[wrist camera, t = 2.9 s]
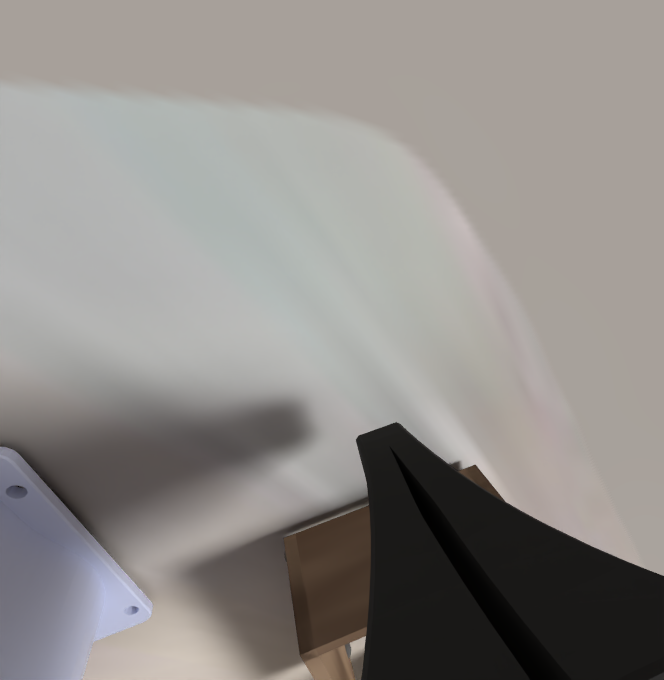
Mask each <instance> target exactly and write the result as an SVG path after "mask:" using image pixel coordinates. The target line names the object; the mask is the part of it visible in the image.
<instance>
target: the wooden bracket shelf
mask: <svg viewBox="0 0 664 680" xmlns="http://www.w3.org/2000/svg"><path fill="white" fill-rule="evenodd" d="M459 472H460V473H461V474H463V475H464V476H466V477H467V478H469V479H470V480H472V481H473V482H475V483H476V484H478V485H479V486H481V487H482V488H484V489H485V490H487V491H488V492H490V493H492V494H493V495H495V496H496V497H498V498H500V499H501V500H503V501H504V499H503V498H502V497H501V496H500V494H499V493H498V492H497V491H496V490H495V488H494V487H493V486H492V485H491V483H490V482H489V481H488V480H487V478H486V477H485V476H484V475H483V473H482V472H481V471H480V470H479V469H478V467H477V466H476V465H473V466H471V467H468V468H465V469H463V470H460V471H459ZM284 544H285V560H286V562H287V566H288V573H289V580H290V587H291V594H292V601H293V609H294V616H295V623H296V630H297V637H298V644H299V652H300V656H301V658H302V659H303V661H304V663H305V664H306V666H307V668H308V669H309V671H310V673H311V675H312V676H313V678H314V680H355V676H354V672H353V668H352V664H351V660H350V655H351V647H350V644H349V643H350V642H353V641H355V640H357V639H360V638H362V637H364V636H366V632H367V621H368V609H369V592H370V568H371V530H370V511H369V506H366V507H364V508H361V509H358V510H356V511H353V512H351V513H348V514H345V515H343V516H340V517H337V518H335V519H332V520H330V521H327V522H324V523H322V524H319V525H317V526H314V527H311V528H309V529H306V530H304V531H301V532H298V533H296V534H293V535H291V536H288V537H285V538H284Z"/></svg>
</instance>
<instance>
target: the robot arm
mask: <svg viewBox="0 0 664 680" xmlns="http://www.w3.org/2000/svg"><path fill="white" fill-rule="evenodd" d="M356 442H357V446H358V450H359V454H360V458H361V461H362V465H363V469H364V473H365V477H366V481H367V488H368V496H369V511H370V530H371V568H370V592H369V609H368V621H367V632H366V642H365V653H364V663H363V671H362V679H361V680H664V576H662V575H659V574H657V573H654V572H652V571H649V570H647V569H644V568H642V567H639V566H637V565H634V564H632V563H629V562H627V561H624V560H622V559H620V558H617V557H615V556H613V555H611V554H608V553H606V552H604V551H601V550H599V549H597V548H594V547H592V546H590V545H588V544H586V543H584V542H582V541H580V540H577V539H575V538H573V537H571V536H569V535H567V534H565V533H563V532H561V531H559V530H557V529H555V528H553V527H551V526H548V525H546V524H544V523H542V522H541V521H539V520H537V519H535V518H533V517H531V516H529V515H528V514H526V513H524V512H522V511H520V510H518V509H517V508H515V507H513V506H512V505H510V504H508V503H506V502H505V501H503V500H501V499H500V498H498V497H496V496H495V495H493V494H492V493H490V492H488V491H487V490H485V489H484V488H482V487H481V486H479V485H478V484H476V483H475V482H473V481H472V480H470V479H469V478H467V477H466V476H464V475H463V474H461V473H460V472H459V471H457V470H456V469H454V468H453V467H452V466H450V465H449V464H448V463H446V462H445V461H444V460H442V459H441V458H440V457H438V456H437V455H436V454H434V453H433V452H432V451H431V450H429V449H428V448H427V447H426V446H425V445H423V444H422V443H421V442H420V441H418V440H417V439H416V438H415V437H414V436H413V435H412V434H410V433H409V432H408V431H407V430H406V429H405V428H404V427H403V426H402V425H401V424H399V423H397V422H396V423H393V424H390V425H387V426H385V427H382V428H379V429H376V430H373V431H371V432H368V433H365V434H362V435H359V436H358V438H357V439H356ZM15 485H18V486H22V487H24V488H19V487H17V486H15ZM152 609H153V604H152V602H151V601H150V600H149V599H148V598H147V596H146V595H145V594H144V593H143V592H142V591H141V590H140V589H139V588H138V586H137V585H136V584H135V583H134V582H133V581H132V580H131V579H130V577H129V576H128V575H127V574H126V573H125V572H124V571H123V570H122V569H121V567H120V566H119V565H118V564H117V563H116V562H115V561H114V560H113V558H112V557H111V556H110V555H109V554H108V553H107V552H106V551H105V550H104V548H103V547H102V546H101V545H100V544H99V543H98V542H97V541H96V540H95V538H94V537H93V536H92V535H91V534H90V533H89V532H88V531H87V529H86V528H85V527H84V526H83V525H82V524H81V523H80V522H79V521H78V519H77V518H76V517H75V516H74V515H73V514H72V513H71V512H70V510H69V509H68V508H67V507H66V506H65V505H64V504H63V503H62V502H61V500H60V499H59V498H58V497H57V496H56V495H55V494H54V493H53V491H52V490H51V489H50V488H49V487H48V486H47V485H46V484H45V483H44V481H43V480H42V479H41V478H40V477H39V476H38V475H37V474H36V472H35V471H34V470H33V469H32V468H31V467H30V466H29V465H28V464H27V462H26V461H25V460H24V459H23V458H22V457H21V456H20V455H19V454H18V453H17V452H16V451H14V450H12V449H10V448H7V447H0V680H82V679H83V676H84V672H85V669H86V665H87V662H88V658H89V655H90V651H91V648H92V644H93V642H94V641H97V640H99V639H102V638H104V637H107V636H109V635H112V634H114V633H117V632H120V631H122V630H125V629H127V628H130V627H132V626H135V625H137V624H140V623H143V622H144V621H146V620H148V619H149V618H150V617H151V614H152Z"/></svg>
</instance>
